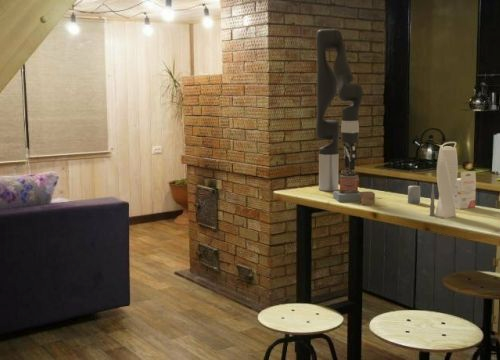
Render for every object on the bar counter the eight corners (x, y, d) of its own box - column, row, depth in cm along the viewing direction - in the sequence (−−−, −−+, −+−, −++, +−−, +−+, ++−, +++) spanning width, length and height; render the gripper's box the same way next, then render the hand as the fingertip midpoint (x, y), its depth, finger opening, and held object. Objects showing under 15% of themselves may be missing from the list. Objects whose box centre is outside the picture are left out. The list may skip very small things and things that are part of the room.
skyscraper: (443, 213, 235) (445, 140, 231) (461, 217, 229) (463, 142, 225) (428, 216, 231) (430, 142, 227) (446, 219, 224) (448, 143, 220)
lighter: (357, 192, 268) (357, 169, 266) (358, 193, 264) (358, 170, 263) (339, 192, 268) (339, 169, 267) (339, 193, 265) (340, 170, 263)
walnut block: (359, 203, 258) (359, 191, 257) (371, 203, 258) (371, 191, 257) (362, 205, 253) (362, 193, 252) (374, 205, 253) (374, 193, 253)
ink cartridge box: (465, 205, 251) (467, 169, 248) (475, 207, 246) (476, 170, 244) (450, 207, 247) (451, 171, 245) (459, 209, 242) (461, 172, 240)
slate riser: (333, 197, 272) (333, 190, 272) (357, 196, 273) (357, 190, 272) (338, 201, 261) (338, 194, 261) (364, 201, 262) (364, 194, 262)
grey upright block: (406, 202, 259) (406, 185, 258) (417, 201, 260) (418, 185, 259) (410, 204, 254) (410, 187, 253) (421, 203, 255) (422, 187, 254)
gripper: (337, 130, 269) (337, 166, 272) (345, 132, 255) (344, 171, 258) (354, 129, 270) (353, 166, 273) (362, 132, 256) (362, 170, 259)
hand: (349, 168), depth 265 cm, fingers open, 8 cm apart
